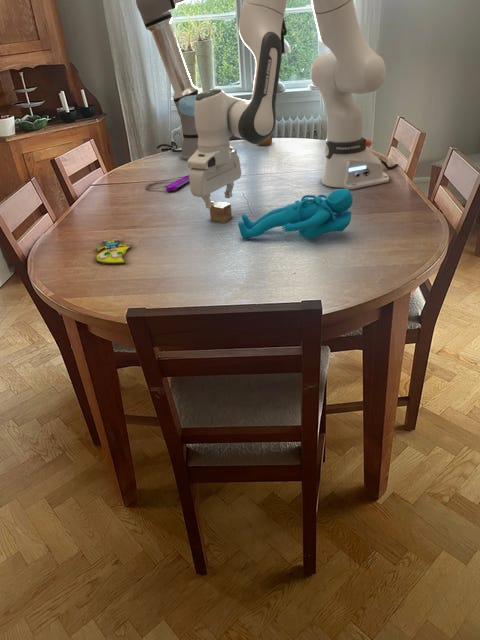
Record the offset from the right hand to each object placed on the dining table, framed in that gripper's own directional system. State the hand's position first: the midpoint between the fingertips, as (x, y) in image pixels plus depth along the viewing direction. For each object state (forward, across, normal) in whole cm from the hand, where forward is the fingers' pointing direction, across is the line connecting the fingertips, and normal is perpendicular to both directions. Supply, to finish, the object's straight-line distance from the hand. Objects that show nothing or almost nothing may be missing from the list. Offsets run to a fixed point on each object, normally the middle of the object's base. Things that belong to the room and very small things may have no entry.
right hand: (219, 202), depth 141 cm
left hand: (-30, -93, -35) cm, 104 cm away
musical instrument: (+5, -24, -38) cm, 45 cm away
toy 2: (+5, +2, +26) cm, 27 cm away
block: (+5, 0, 0) cm, 5 cm away
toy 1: (+5, +32, -13) cm, 35 cm away
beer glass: (+5, -84, -36) cm, 92 cm away
